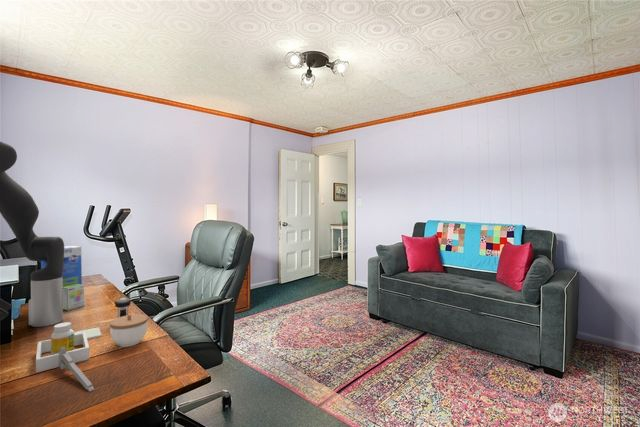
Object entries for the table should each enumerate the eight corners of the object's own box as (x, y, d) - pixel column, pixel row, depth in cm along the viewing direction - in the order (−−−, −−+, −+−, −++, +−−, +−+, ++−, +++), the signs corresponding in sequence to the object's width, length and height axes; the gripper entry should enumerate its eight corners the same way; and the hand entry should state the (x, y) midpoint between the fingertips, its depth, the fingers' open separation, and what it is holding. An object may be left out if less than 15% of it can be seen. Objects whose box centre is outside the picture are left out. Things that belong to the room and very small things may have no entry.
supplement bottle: (54, 354, 95) (54, 322, 95) (76, 350, 97) (76, 320, 97) (48, 362, 90) (48, 329, 90) (71, 358, 92) (71, 326, 92)
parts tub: (36, 372, 84) (35, 359, 84) (38, 353, 95) (38, 341, 95) (89, 359, 92) (89, 347, 92) (85, 342, 103) (85, 332, 103)
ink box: (68, 311, 134) (67, 280, 133) (61, 310, 135) (61, 279, 135) (84, 306, 140) (84, 276, 140) (78, 305, 141) (78, 276, 141)
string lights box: (74, 297, 153) (73, 245, 153) (82, 299, 150) (82, 246, 149) (40, 305, 141) (39, 248, 141) (49, 307, 138) (48, 249, 137)
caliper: (58, 368, 87) (58, 346, 87) (63, 367, 88) (62, 345, 88) (89, 393, 76) (89, 367, 76) (94, 390, 77) (94, 365, 76)
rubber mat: (68, 343, 102) (68, 342, 102) (67, 334, 109) (67, 333, 109) (101, 336, 108) (101, 334, 108) (98, 328, 115) (98, 327, 115)
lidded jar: (108, 342, 104) (107, 314, 103) (144, 333, 110) (144, 307, 110) (112, 353, 95) (111, 323, 95) (151, 343, 102) (151, 315, 102)
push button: (110, 329, 114) (110, 302, 114) (110, 325, 118) (110, 298, 118) (131, 325, 118) (131, 299, 117) (130, 321, 122) (130, 296, 122)
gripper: (-49, 269, 74) (18, 307, 82) (-36, 262, 85) (22, 296, 93) (-84, 295, 71) (-11, 333, 79) (-66, 284, 82) (-3, 318, 89)
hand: (7, 313), depth 86 cm, fingers open, 8 cm apart
